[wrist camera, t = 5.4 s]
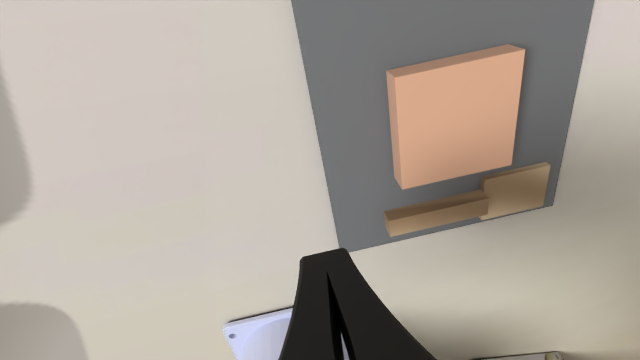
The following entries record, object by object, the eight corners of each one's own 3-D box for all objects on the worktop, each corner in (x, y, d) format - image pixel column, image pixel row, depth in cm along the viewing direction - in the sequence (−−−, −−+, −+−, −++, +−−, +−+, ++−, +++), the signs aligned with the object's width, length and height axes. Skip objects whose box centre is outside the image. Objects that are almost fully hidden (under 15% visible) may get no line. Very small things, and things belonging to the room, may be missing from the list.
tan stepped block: (538, 202, 23) (549, 211, 22) (386, 237, 23) (391, 248, 22) (546, 161, 22) (557, 169, 21) (382, 198, 21) (387, 208, 20)
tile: (392, 174, 20) (494, 151, 21) (402, 189, 19) (511, 164, 19) (384, 69, 17) (504, 42, 18) (394, 77, 16) (525, 49, 16)
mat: (548, 202, 24) (552, 205, 23) (340, 249, 23) (341, 254, 23) (607, -102, 15) (615, -104, 15) (284, -35, 15) (285, -36, 15)
